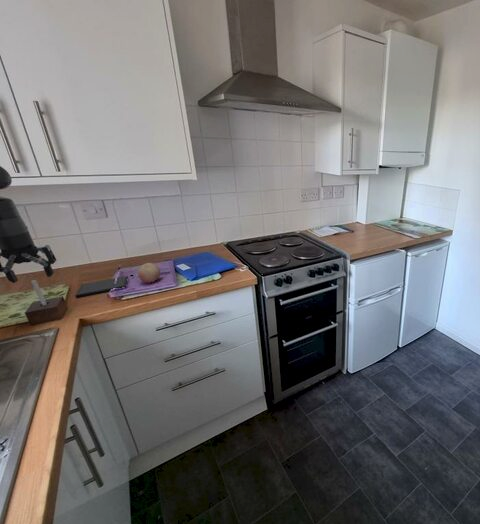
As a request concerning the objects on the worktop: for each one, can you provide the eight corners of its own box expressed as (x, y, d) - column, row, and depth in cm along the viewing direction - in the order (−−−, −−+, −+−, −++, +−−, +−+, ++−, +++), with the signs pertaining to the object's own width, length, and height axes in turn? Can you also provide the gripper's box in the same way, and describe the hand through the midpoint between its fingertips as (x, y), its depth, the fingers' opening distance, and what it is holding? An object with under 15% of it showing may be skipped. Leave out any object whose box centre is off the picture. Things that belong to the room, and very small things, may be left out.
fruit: (136, 283, 128) (131, 266, 125) (155, 275, 134) (150, 259, 131) (148, 287, 124) (142, 269, 121) (166, 279, 131) (161, 262, 128)
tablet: (76, 298, 116) (75, 295, 116) (82, 286, 125) (81, 284, 124) (126, 288, 123) (125, 285, 123) (128, 278, 132) (127, 275, 132)
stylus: (47, 317, 104) (30, 281, 98) (48, 316, 105) (31, 280, 99) (52, 316, 104) (35, 281, 99) (53, 315, 105) (36, 279, 100)
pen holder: (30, 325, 100) (24, 312, 98) (38, 313, 106) (32, 301, 104) (62, 318, 103) (56, 306, 101) (68, 308, 110) (62, 296, 108)
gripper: (-29, 239, 86) (-3, 288, 93) (37, 231, 92) (58, 278, 99) (-17, 232, 92) (8, 279, 99) (45, 225, 98) (64, 270, 105)
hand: (33, 278), depth 99 cm, fingers open, 8 cm apart
